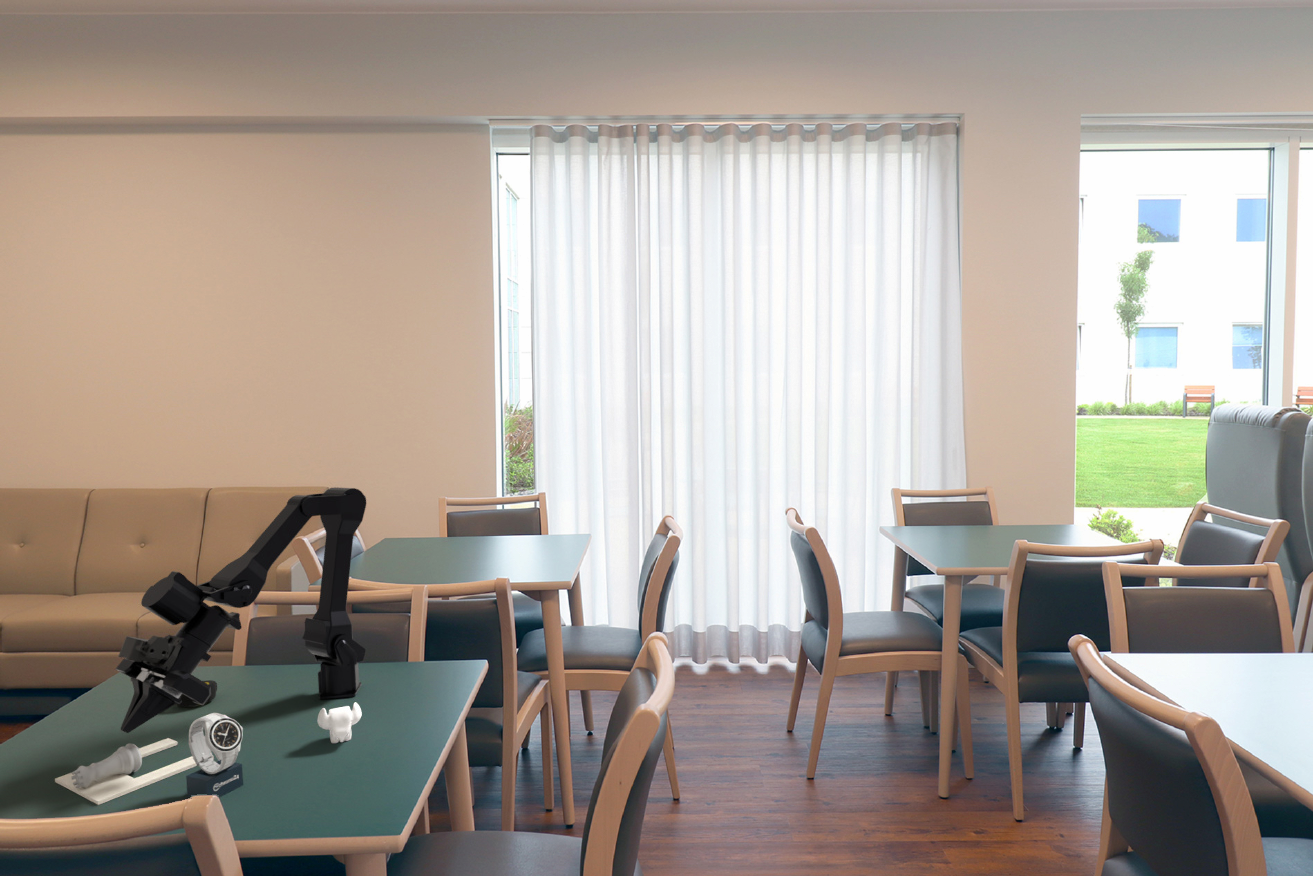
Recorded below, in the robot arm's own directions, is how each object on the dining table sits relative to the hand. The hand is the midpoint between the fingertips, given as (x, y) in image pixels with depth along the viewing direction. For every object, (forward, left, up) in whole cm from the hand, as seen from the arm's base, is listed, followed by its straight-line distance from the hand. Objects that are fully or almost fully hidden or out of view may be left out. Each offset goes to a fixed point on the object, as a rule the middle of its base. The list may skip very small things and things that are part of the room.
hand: (123, 731), depth 118 cm
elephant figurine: (-30, -5, -7) cm, 31 cm away
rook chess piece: (-1, -1, -4) cm, 5 cm away
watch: (-16, +9, -7) cm, 20 cm away
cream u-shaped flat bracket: (-1, -1, -7) cm, 7 cm away
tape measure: (+2, -30, -7) cm, 31 cm away
